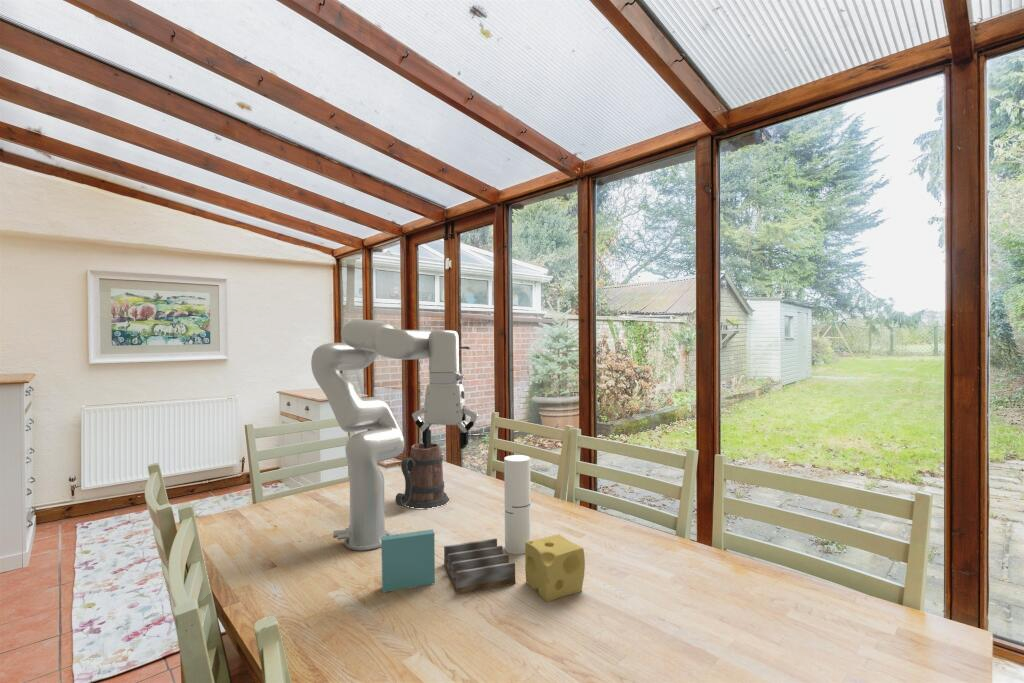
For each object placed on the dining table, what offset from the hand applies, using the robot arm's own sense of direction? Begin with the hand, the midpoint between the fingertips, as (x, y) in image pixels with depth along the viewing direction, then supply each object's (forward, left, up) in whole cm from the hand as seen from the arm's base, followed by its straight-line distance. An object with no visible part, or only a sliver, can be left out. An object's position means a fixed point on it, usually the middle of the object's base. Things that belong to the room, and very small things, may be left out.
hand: (445, 446), depth 122 cm
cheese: (+22, -17, -31) cm, 42 cm away
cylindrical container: (+21, +5, -31) cm, 38 cm away
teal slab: (-10, -5, -31) cm, 33 cm away
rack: (+7, -5, -31) cm, 32 cm away
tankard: (+1, +51, -31) cm, 60 cm away
